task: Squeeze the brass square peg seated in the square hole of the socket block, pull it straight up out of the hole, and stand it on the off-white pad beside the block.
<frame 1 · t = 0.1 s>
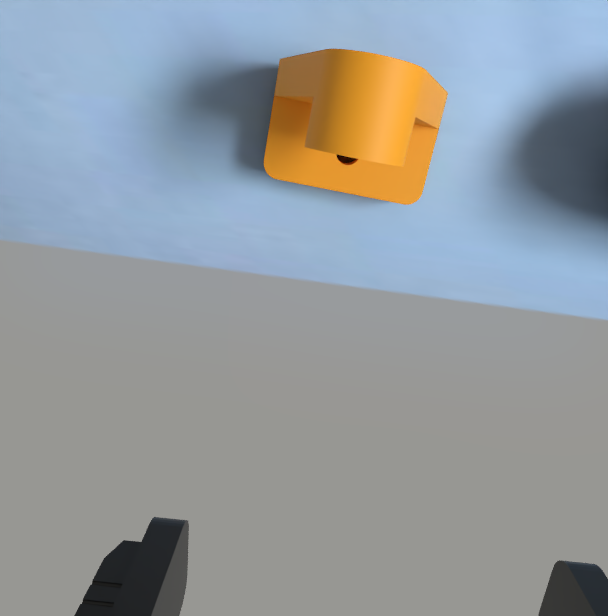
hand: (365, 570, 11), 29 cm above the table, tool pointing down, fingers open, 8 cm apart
bracket: (349, 135, 36), on the table
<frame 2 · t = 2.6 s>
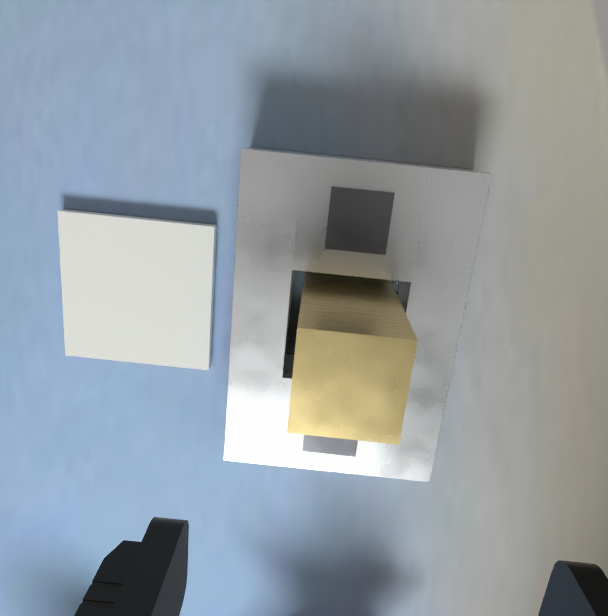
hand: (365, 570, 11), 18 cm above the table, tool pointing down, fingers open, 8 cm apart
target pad: (140, 290, 28), on the table
socket block: (342, 311, 28), on the table
brass peg: (342, 311, 28), resting in socket block
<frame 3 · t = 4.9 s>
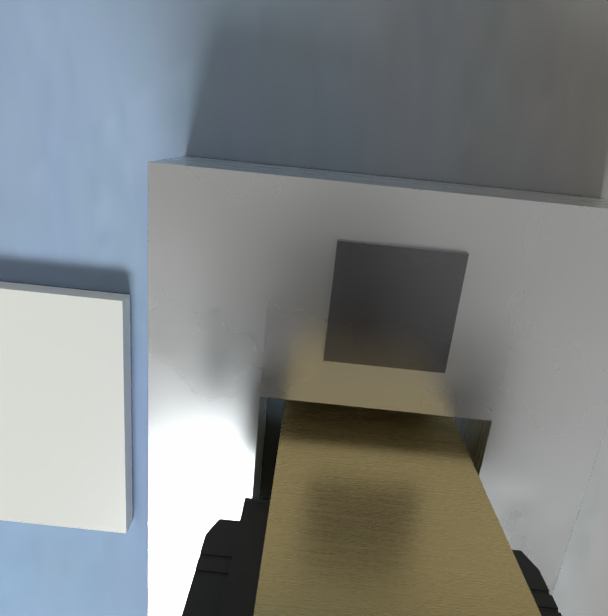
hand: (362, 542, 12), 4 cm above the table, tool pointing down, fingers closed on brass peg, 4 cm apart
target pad: (4, 403, 16), on the table
socket block: (354, 439, 16), on the table
brass peg: (354, 438, 16), resting in socket block, touching gripper
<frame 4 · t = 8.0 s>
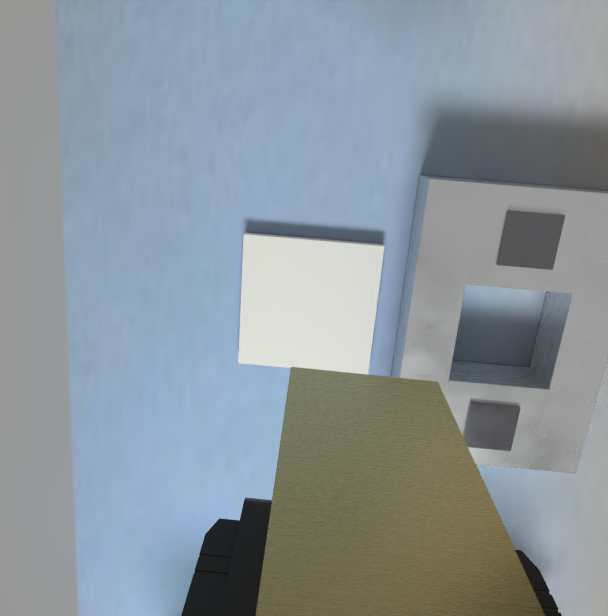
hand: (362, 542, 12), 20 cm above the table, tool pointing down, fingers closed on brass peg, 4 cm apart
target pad: (308, 304, 31), on the table
socket block: (492, 320, 31), on the table
brass peg: (355, 437, 16), point 16 cm above the table, touching gripper
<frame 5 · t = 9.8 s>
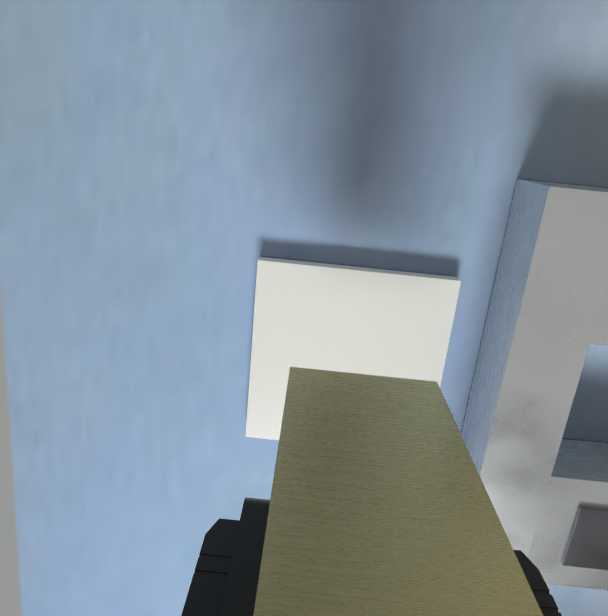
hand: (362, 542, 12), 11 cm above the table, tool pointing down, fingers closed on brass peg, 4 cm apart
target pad: (346, 357, 22), on the table
socket block: (603, 384, 22), on the table
brass peg: (354, 437, 16), point 6 cm above the table, touching gripper
when the fingers open (6 cm above the table, at t = 11.5 s): brass peg drops 1 cm, resting on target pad.
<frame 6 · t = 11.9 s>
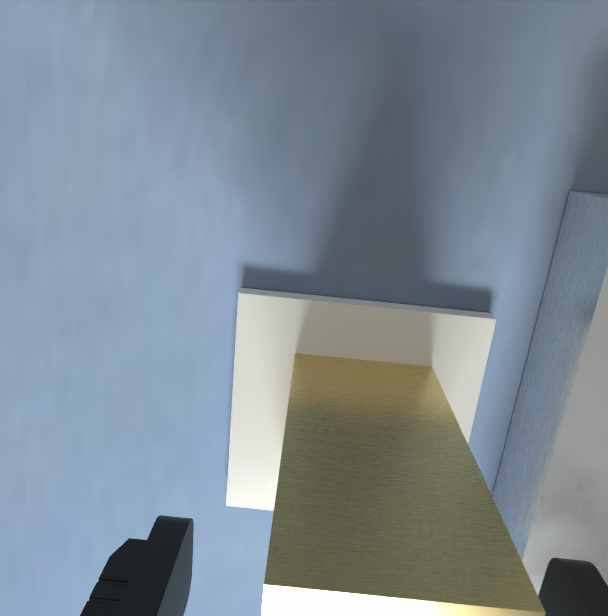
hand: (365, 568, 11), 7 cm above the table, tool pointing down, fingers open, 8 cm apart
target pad: (350, 410, 18), on the table
brass peg: (355, 420, 17), point 1 cm above the table, touching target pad
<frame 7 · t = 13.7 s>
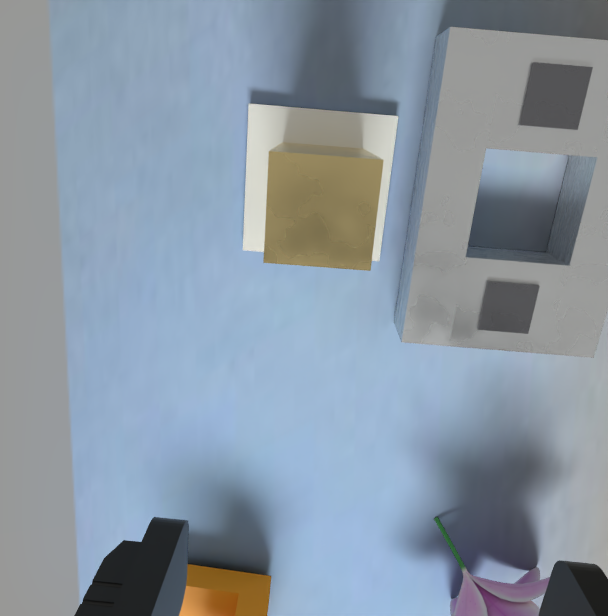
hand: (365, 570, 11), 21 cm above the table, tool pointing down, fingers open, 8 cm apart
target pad: (317, 184, 30), on the table
lily: (464, 552, 39), on the table
bracket: (217, 610, 41), on the table
socket block: (508, 200, 30), on the table
brass peg: (319, 186, 29), point 1 cm above the table, touching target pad
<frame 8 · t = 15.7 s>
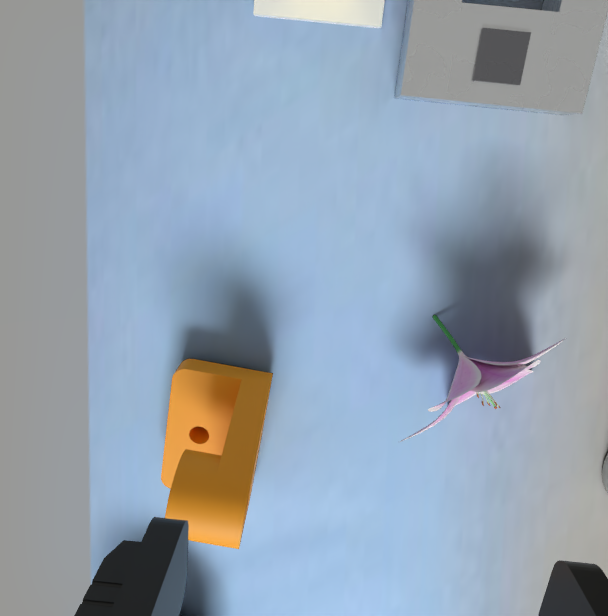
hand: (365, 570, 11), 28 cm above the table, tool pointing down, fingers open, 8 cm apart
lily: (461, 357, 40), on the table
bracket: (220, 418, 43), on the table
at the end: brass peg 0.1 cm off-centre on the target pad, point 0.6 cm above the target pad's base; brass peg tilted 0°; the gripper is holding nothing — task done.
